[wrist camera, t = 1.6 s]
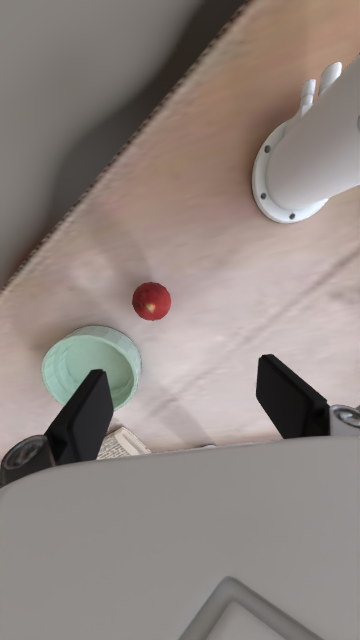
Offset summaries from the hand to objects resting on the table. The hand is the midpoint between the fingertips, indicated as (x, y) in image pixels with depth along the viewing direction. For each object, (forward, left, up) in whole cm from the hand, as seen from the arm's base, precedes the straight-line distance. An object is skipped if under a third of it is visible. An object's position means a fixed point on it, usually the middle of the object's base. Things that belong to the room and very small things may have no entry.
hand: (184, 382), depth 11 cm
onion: (-2, -4, -22) cm, 22 cm away
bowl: (+10, -15, -22) cm, 28 cm away
